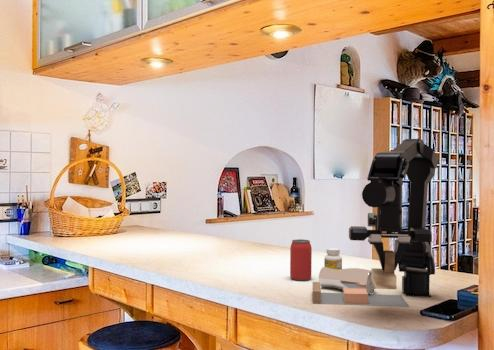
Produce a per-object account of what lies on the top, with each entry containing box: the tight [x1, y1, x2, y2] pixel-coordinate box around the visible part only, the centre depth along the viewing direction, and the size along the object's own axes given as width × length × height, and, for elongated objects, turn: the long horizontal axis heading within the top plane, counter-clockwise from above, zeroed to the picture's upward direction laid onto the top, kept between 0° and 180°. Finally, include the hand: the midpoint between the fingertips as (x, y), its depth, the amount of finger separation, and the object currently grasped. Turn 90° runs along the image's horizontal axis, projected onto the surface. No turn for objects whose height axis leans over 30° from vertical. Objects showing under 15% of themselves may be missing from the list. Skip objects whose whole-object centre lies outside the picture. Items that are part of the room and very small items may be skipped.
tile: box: [342, 288, 368, 304], centre depth 138 cm, size 6×6×2 cm
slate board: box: [312, 281, 410, 308], centre depth 139 cm, size 24×12×3 cm, turn 83°
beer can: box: [289, 238, 313, 282], centre depth 165 cm, size 7×7×12 cm
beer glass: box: [318, 266, 377, 295], centre depth 149 cm, size 7×7×15 cm
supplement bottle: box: [323, 247, 343, 269], centre depth 164 cm, size 5×5×10 cm
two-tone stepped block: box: [371, 250, 397, 290], centre depth 127 cm, size 5×9×8 cm, turn 173°
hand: (388, 269), depth 127 cm, fingers closed on two-tone stepped block, 2 cm apart
